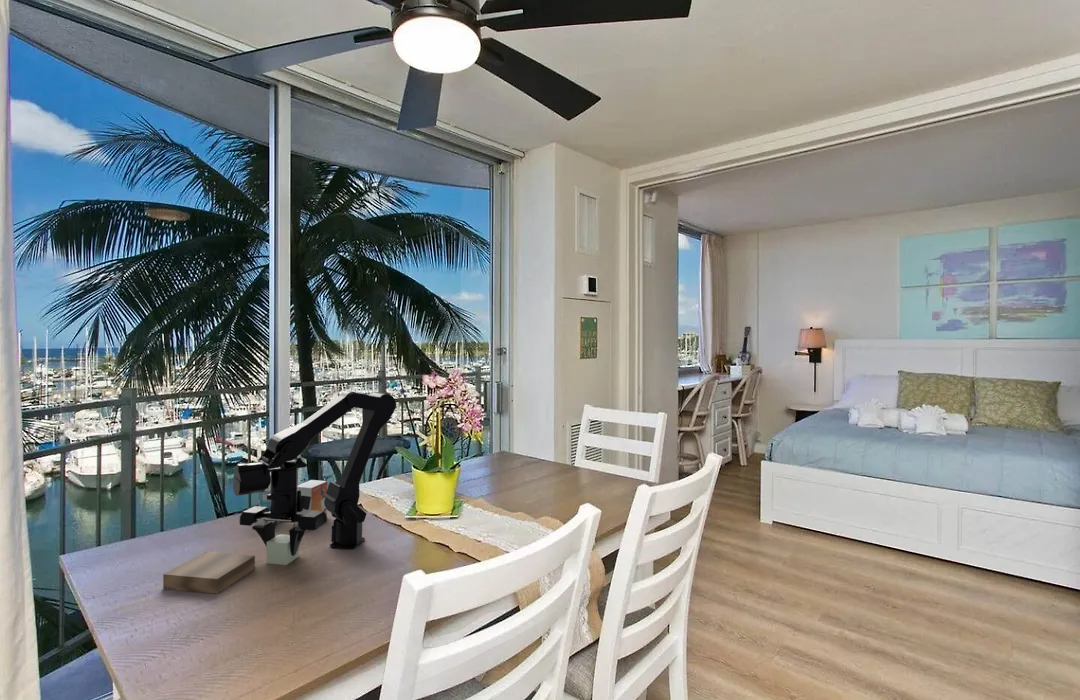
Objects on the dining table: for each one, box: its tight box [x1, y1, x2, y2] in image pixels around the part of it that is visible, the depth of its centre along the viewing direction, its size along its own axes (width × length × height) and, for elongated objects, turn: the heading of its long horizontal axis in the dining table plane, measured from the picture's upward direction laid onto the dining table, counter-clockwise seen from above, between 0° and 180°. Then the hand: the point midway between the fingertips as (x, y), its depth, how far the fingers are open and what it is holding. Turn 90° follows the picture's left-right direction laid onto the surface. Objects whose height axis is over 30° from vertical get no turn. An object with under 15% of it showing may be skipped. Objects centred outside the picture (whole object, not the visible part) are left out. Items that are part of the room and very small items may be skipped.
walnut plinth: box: [162, 551, 256, 594], centre depth 119 cm, size 12×12×3 cm
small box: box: [292, 479, 328, 525], centre depth 157 cm, size 8×6×10 cm
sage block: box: [265, 534, 300, 566], centre depth 130 cm, size 5×5×5 cm
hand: (283, 554), depth 130 cm, fingers closed on sage block, 5 cm apart
